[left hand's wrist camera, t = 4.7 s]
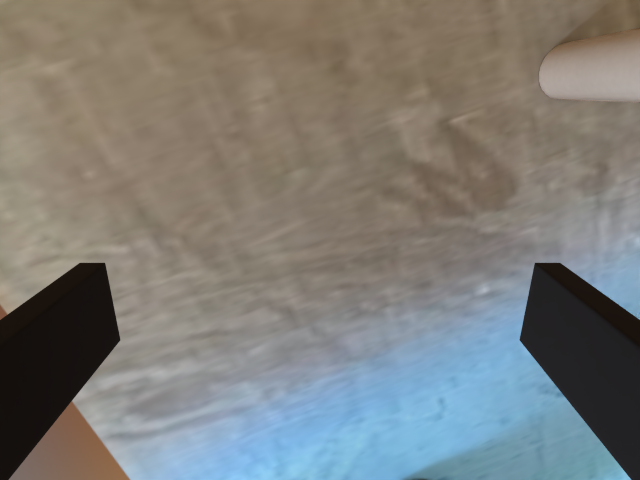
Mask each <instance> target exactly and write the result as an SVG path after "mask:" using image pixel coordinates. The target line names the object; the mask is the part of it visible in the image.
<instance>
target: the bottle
mask: <svg viewBox="0 0 640 480" xmlns="http://www.w3.org/2000/svg"><path fill="white" fill-rule="evenodd" d="M539 82H540V86H541V88H542V90H543V91H544V93H545V94H546V95H548V96H549V97H551V98H553V99H557V100H582V101H609V102H636V103H640V28H636V29H631V30H626V31H621V32H616V33H611V34H606V35H601V36H596V37H591V38H586V39H581V40H575V41H570V42H566V43H562V44H560V45H558V46H556V47H555V48H553V49H552V50H551V51H550V52H549V53H548V54H547V56H546V57H545V58H544V60H543V62H542V64H541V67H540V71H539Z"/></svg>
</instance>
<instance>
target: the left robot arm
mask: <svg viewBox="0 0 640 480" xmlns="http://www.w3.org/2000/svg"><path fill="white" fill-rule="evenodd" d="M119 341H120V336H119V331H118V326H117V321H116V316H115V311H114V306H113V301H112V296H111V290H110V285H109V280H108V275H107V270H106V265H105V263H79V264H78V265H76V266H75V267H74V268H72V269H71V270H69V271H68V272H67V273H65V274H64V275H62V276H61V277H60V278H58V279H57V280H55V281H54V282H53V283H51V284H50V285H49V286H47V287H46V288H44V289H43V290H42V291H40V292H39V293H37V294H36V295H35V296H33V297H32V298H30V299H29V300H28V301H26V302H25V303H23V304H22V305H21V306H19V307H18V308H16V309H15V310H14V311H12V312H11V313H9V314H8V315H7V316H5V317H4V318H2V319H1V320H0V480H9V478H10V477H11V476H12V475H13V473H14V472H15V471H16V470H17V468H18V467H19V466H20V465H21V463H22V462H23V461H24V460H25V458H26V457H27V456H28V455H29V453H30V452H31V451H32V450H33V448H34V447H35V446H36V445H37V443H38V442H39V441H40V440H41V438H42V437H43V436H44V435H45V433H46V432H47V431H48V430H49V428H50V427H51V426H52V425H53V423H54V422H55V421H56V420H57V418H58V417H59V416H60V415H61V413H62V412H63V411H64V410H65V408H66V407H67V406H68V405H69V403H70V402H71V401H72V400H73V399H74V397H75V396H76V395H77V394H78V392H79V391H80V390H81V389H82V387H83V386H84V385H85V384H86V382H87V381H88V380H89V379H90V377H91V376H92V375H93V374H94V372H95V371H96V370H97V369H98V367H99V366H100V365H101V364H102V362H103V361H104V360H105V359H106V357H107V356H108V355H109V354H110V352H111V351H112V350H113V349H114V347H115V346H116V345H117V344H118V342H119ZM520 341H521V342H522V344H523V345H524V346H525V347H526V349H527V350H528V351H529V352H530V354H531V355H532V356H533V357H534V359H535V360H536V361H537V362H538V364H539V365H540V366H541V367H542V369H543V370H544V371H545V372H546V374H547V375H548V376H549V377H550V379H551V380H552V381H553V382H554V384H555V385H556V386H557V387H558V389H559V390H560V391H561V392H562V394H563V395H564V396H565V397H566V399H567V400H568V401H569V402H570V404H571V405H572V406H573V407H574V408H575V410H576V411H577V412H578V413H579V415H580V416H581V417H582V418H583V420H584V421H585V422H586V423H587V425H588V426H589V427H590V428H591V430H592V431H593V432H594V433H595V435H596V436H597V437H598V438H599V440H600V441H601V442H602V443H603V445H604V446H605V447H606V448H607V450H608V451H609V452H610V453H611V455H612V456H613V457H614V458H615V460H616V461H617V462H618V463H619V465H620V466H621V467H622V468H623V470H624V471H625V472H626V473H627V475H628V476H629V477H630V478H631V480H640V320H639V319H638V318H636V317H635V316H633V315H632V314H631V313H629V312H628V311H626V310H625V309H624V308H622V307H621V306H619V305H618V304H617V303H615V302H614V301H612V300H611V299H610V298H608V297H607V296H605V295H604V294H603V293H601V292H600V291H598V290H597V289H596V288H594V287H593V286H591V285H590V284H589V283H587V282H586V281H585V280H583V279H582V278H580V277H579V276H578V275H576V274H575V273H573V272H572V271H571V270H569V269H568V268H566V267H565V266H564V265H562V264H561V263H535V265H534V270H533V275H532V280H531V285H530V290H529V296H528V301H527V306H526V311H525V316H524V321H523V326H522V331H521V336H520Z"/></svg>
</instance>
